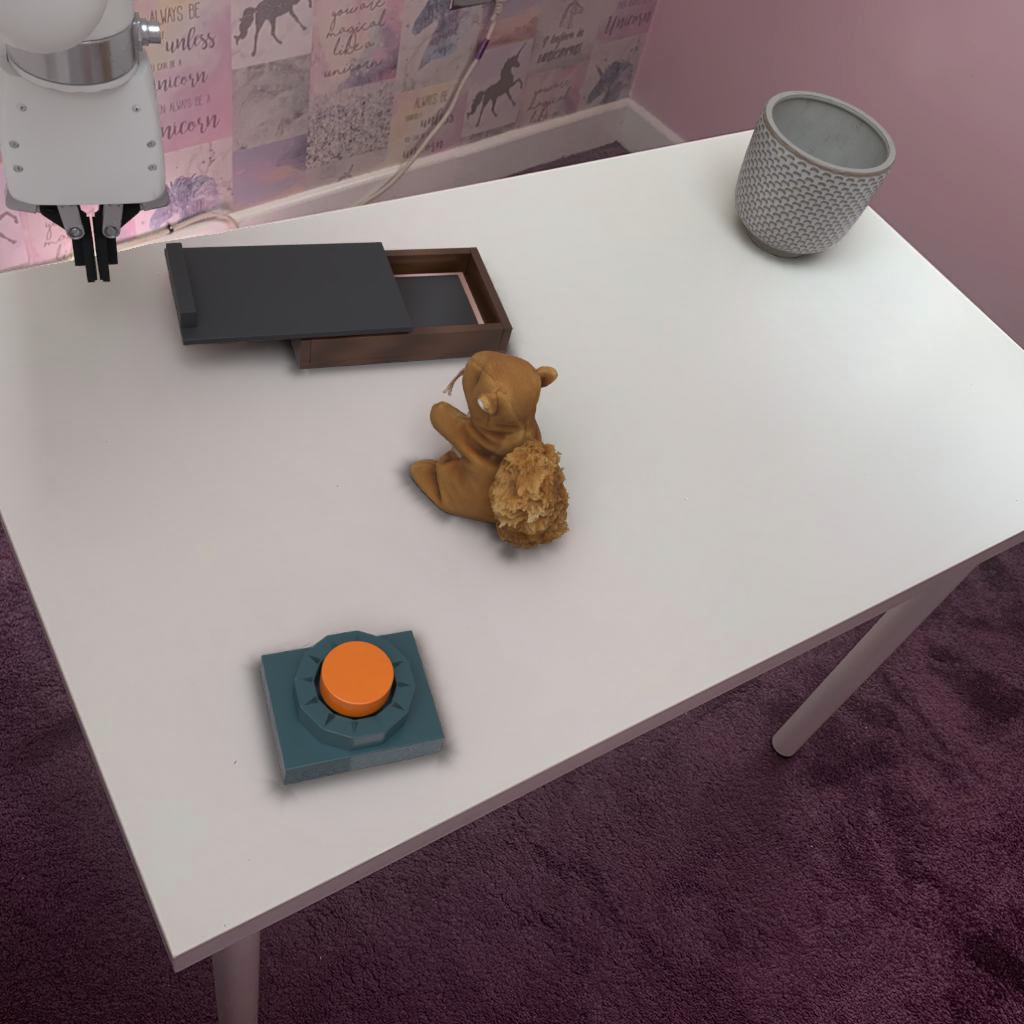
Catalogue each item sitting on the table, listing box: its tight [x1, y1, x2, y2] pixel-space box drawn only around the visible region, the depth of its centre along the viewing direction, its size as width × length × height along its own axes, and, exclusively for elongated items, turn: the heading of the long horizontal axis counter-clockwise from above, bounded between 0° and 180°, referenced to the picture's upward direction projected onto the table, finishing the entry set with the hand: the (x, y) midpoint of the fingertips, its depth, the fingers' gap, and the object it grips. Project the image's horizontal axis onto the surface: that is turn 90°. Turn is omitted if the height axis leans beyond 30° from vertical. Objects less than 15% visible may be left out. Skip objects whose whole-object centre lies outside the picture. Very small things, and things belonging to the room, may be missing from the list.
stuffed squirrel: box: [409, 351, 570, 550], centre depth 77 cm, size 10×14×13 cm
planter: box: [734, 90, 897, 259], centre depth 108 cm, size 14×14×13 cm
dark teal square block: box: [259, 629, 445, 786], centre depth 67 cm, size 10×8×4 cm
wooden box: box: [290, 246, 514, 370], centre depth 91 cm, size 18×11×3 cm, turn 108°
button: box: [319, 641, 394, 717], centre depth 65 cm, size 4×4×2 cm
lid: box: [163, 241, 413, 346], centre depth 85 cm, size 18×11×2 cm, turn 108°
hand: (97, 269), depth 79 cm, fingers closed
